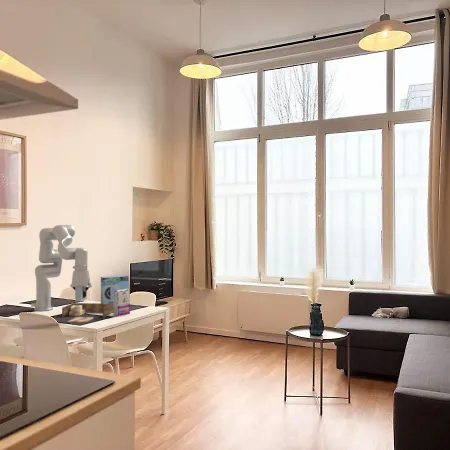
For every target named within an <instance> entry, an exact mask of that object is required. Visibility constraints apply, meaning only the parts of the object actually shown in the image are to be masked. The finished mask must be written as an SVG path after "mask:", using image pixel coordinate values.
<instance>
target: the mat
mask: <svg viewBox="0 0 450 450" xmlns="http://www.w3.org/2000/svg"><path fill="white" fill-rule="evenodd" d="M93 319H94V317H92V316H91V317H90V316H87V317H83V316H74V317H73V318H71V319H68V320H67V323H88V322H90V321H91V320H93Z"/></svg>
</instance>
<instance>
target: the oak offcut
mask: <svg viewBox="0 0 450 450" xmlns="http://www.w3.org/2000/svg"><path fill="white" fill-rule="evenodd" d="M85 313H86V312H85V310H81V311H80V312H71V311H70V312H69V315H68V316H69V317H81V316H82V314H83V315H84V314H85ZM80 315H81V316H80Z"/></svg>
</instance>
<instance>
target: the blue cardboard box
mask: <svg viewBox="0 0 450 450" xmlns="http://www.w3.org/2000/svg"><path fill="white" fill-rule="evenodd" d="M122 289H129V275H126V274H125V275H115V276H114V275H111V276H101V277H100V303H110V304H113V291H117V290H122Z"/></svg>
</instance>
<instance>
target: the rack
mask: <svg viewBox="0 0 450 450" xmlns="http://www.w3.org/2000/svg"><path fill="white" fill-rule="evenodd" d="M73 305H82V310H85V313H102V318H106V317H108V316H110V315H112V314H113V304H110V303H101V302H100V303H99V302H97V303H96V302H95V303H94V302H93V303H92V302H89V303H88V302H72V303H70V304H68V305H65V306H63V307H61V308H62V309H61V310H62V311H61V317H62V318H64V317H67V316H69V312H70V311H71V307H72V306H73Z"/></svg>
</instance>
